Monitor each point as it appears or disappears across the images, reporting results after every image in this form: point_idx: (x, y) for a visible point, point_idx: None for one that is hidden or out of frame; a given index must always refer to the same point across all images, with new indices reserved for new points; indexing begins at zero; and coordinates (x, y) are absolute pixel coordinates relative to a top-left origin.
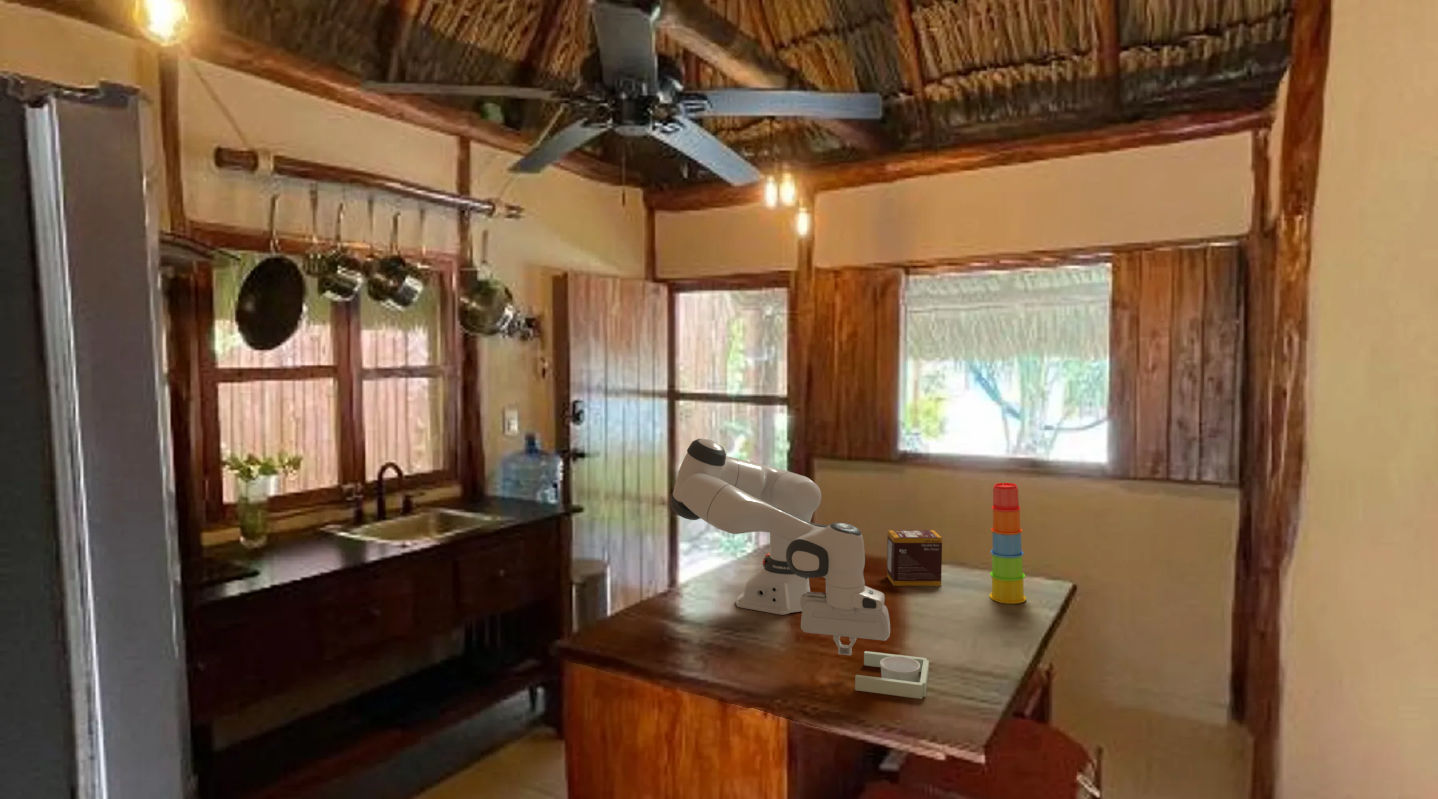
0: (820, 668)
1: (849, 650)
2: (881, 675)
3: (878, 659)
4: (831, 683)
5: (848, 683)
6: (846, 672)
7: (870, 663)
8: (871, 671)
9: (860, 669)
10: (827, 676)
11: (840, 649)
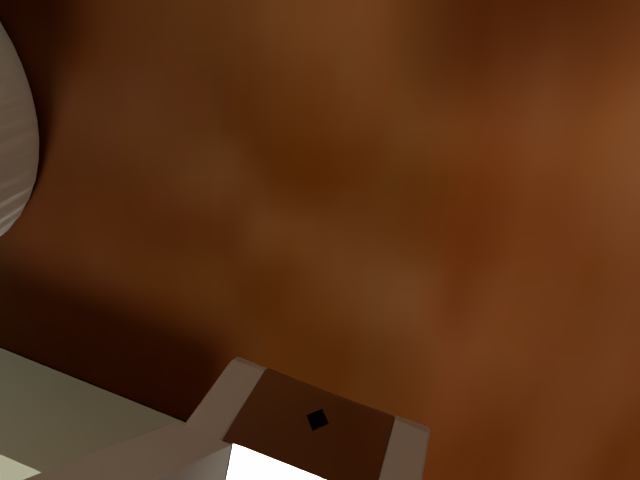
0: (632, 424)
1: (223, 406)
2: (7, 126)
3: (48, 427)
4: (592, 15)
5: (369, 30)
6: (362, 311)
7: (138, 423)
8: (140, 314)
9: (229, 360)
10: (598, 226)
11: (377, 465)
